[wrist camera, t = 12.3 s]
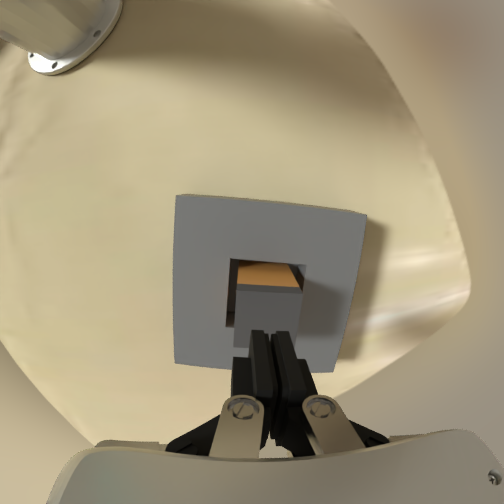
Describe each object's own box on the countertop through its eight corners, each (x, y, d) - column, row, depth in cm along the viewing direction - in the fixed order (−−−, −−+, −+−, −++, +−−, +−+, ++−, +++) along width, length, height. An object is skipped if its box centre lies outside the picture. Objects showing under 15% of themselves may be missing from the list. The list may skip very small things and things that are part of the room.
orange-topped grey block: (239, 259, 23) (236, 290, 16) (287, 263, 23) (303, 294, 17) (236, 304, 24) (233, 347, 17) (282, 306, 24) (294, 349, 17)
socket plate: (186, 194, 22) (176, 195, 19) (350, 210, 23) (366, 214, 20) (182, 342, 26) (174, 363, 22) (324, 351, 26) (333, 372, 23)
